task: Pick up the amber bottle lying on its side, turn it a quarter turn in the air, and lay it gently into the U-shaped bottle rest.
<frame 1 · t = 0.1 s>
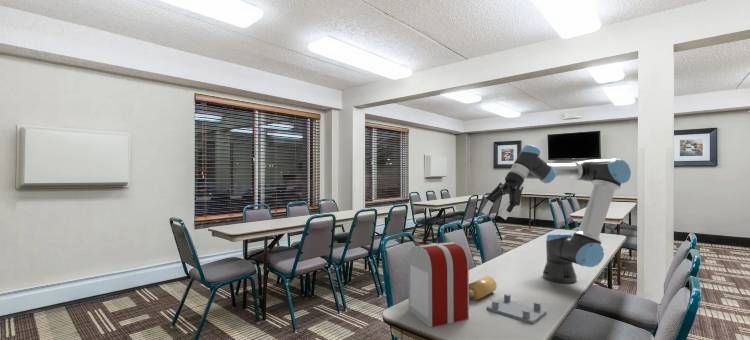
hand: (493, 215, 146), 36 cm above the table, tool tilted 35°, fingers open, 13 cm apart
amber bottle: (481, 295, 148), on the table
smoke grenade: (447, 296, 147), on the table
u rest: (516, 311, 131), on the table
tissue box: (438, 314, 129), on the table
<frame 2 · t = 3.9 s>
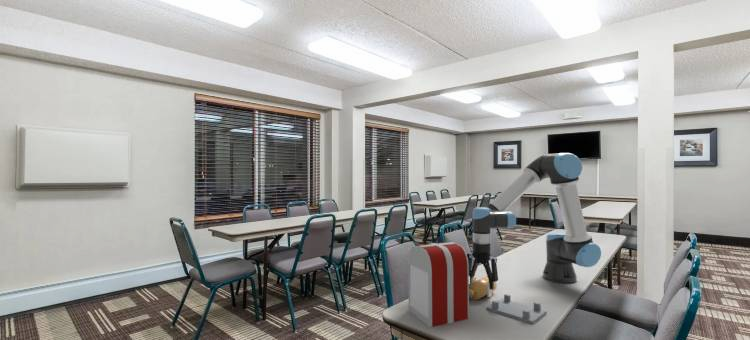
hand: (481, 293, 148), 1 cm above the table, tool pointing down, fingers closed on amber bottle, 7 cm apart
amber bottle: (482, 295, 148), on the table, touching gripper
everything else where it was.
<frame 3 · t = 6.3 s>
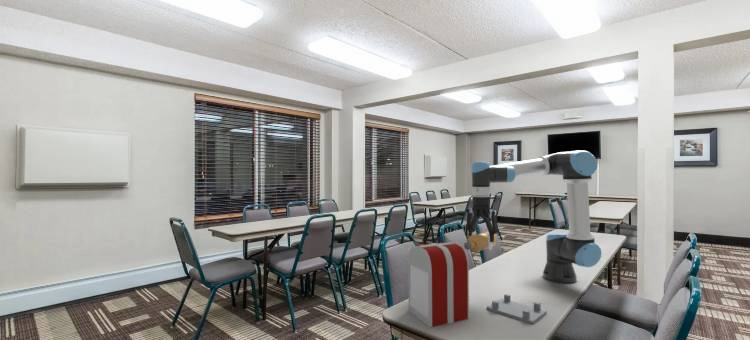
hand: (482, 247, 149), 21 cm above the table, tool pointing down, fingers closed on amber bottle, 7 cm apart
amber bottle: (482, 249, 149), point 20 cm above the table, touching gripper
everything else where it was.
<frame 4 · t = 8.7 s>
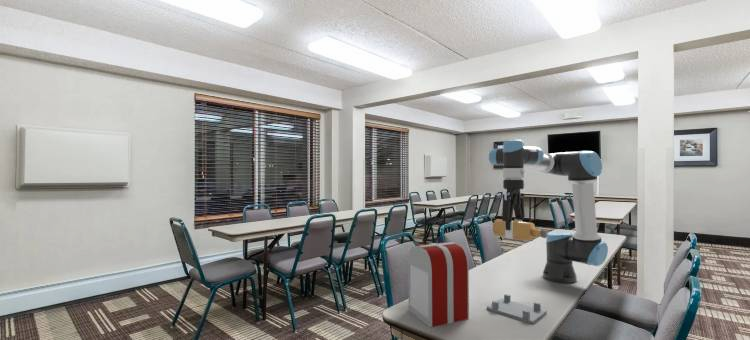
hand: (513, 236, 132), 29 cm above the table, tool pointing down, fingers closed on amber bottle, 7 cm apart
amber bottle: (513, 238, 132), point 28 cm above the table, touching gripper
everything else where it was.
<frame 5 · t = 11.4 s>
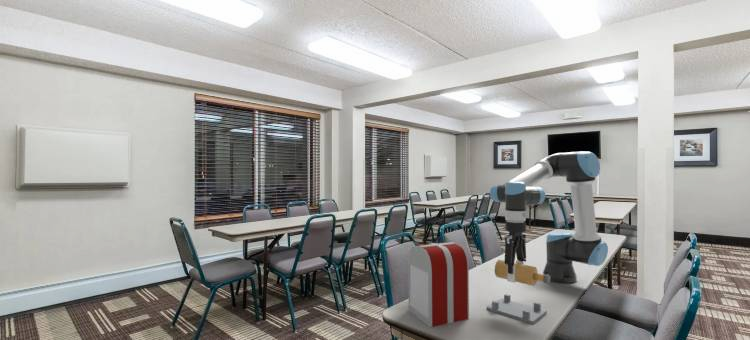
hand: (515, 279, 131), 13 cm above the table, tool pointing down, fingers closed on amber bottle, 7 cm apart
amber bottle: (515, 281, 131), point 12 cm above the table, touching gripper
everything else where it was.
when the fingers open (3 cm above the table, at t = 13.7 s): amber bottle drops 2 cm, resting on u rest.
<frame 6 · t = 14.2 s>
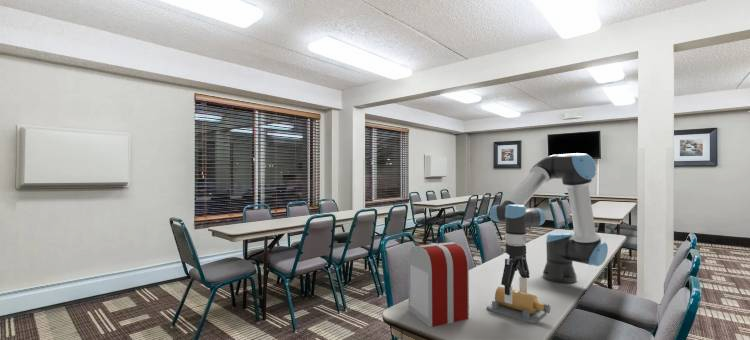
hand: (516, 298, 131), 5 cm above the table, tool pointing down, fingers open, 13 cm apart
amber bottle: (516, 308, 131), point 1 cm above the table, touching u rest
everything else where it was.
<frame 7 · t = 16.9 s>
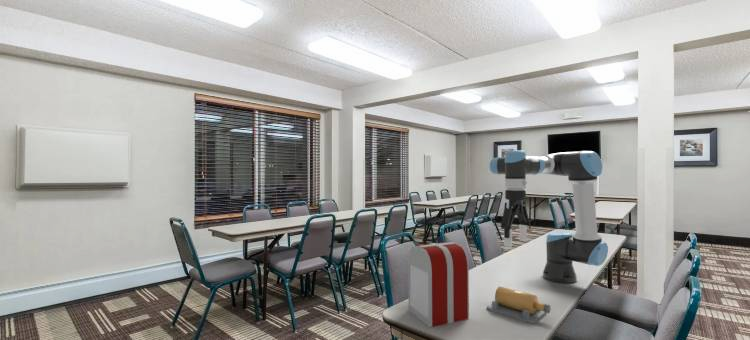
hand: (515, 243, 131), 27 cm above the table, tool pointing down, fingers open, 13 cm apart
nothing on the table moved.
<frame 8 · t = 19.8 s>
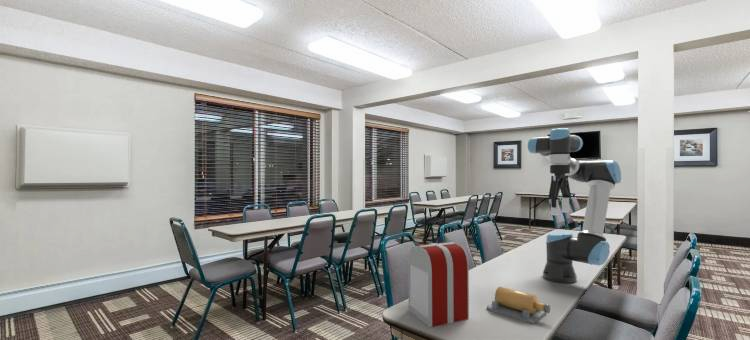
hand: (560, 213, 144), 37 cm above the table, tool pointing down, fingers open, 13 cm apart
nothing on the table moved.
at the end: amber bottle 0.2 cm off-centre on the u rest, point 1.0 cm above the u rest's base; amber bottle touching u rest; the gripper is holding nothing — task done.
